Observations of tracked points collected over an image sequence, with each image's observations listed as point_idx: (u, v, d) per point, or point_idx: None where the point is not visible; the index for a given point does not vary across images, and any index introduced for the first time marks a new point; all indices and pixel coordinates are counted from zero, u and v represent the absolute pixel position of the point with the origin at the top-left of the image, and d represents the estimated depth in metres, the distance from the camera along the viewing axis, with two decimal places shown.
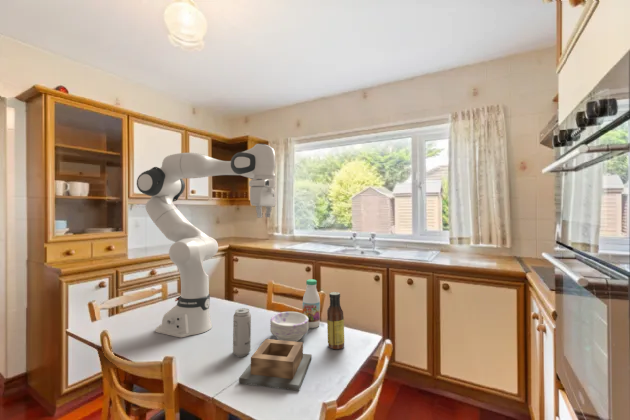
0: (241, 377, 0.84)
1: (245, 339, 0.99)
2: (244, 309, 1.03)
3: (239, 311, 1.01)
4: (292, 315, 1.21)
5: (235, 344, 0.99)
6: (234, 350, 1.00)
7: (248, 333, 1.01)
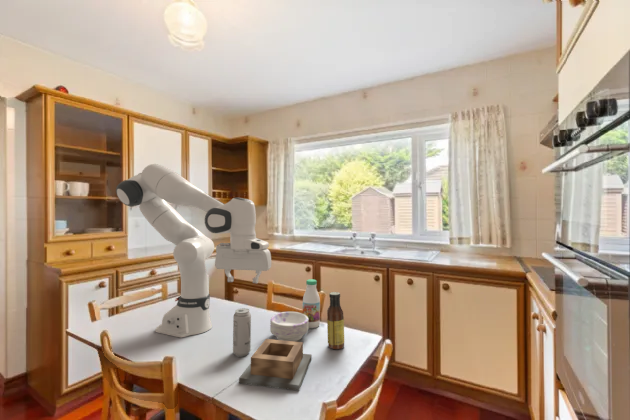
0: (241, 377, 0.84)
1: (245, 339, 0.99)
2: (244, 309, 1.03)
3: (239, 311, 1.01)
4: (292, 315, 1.21)
5: (235, 344, 0.99)
6: (234, 350, 1.00)
7: (248, 333, 1.01)
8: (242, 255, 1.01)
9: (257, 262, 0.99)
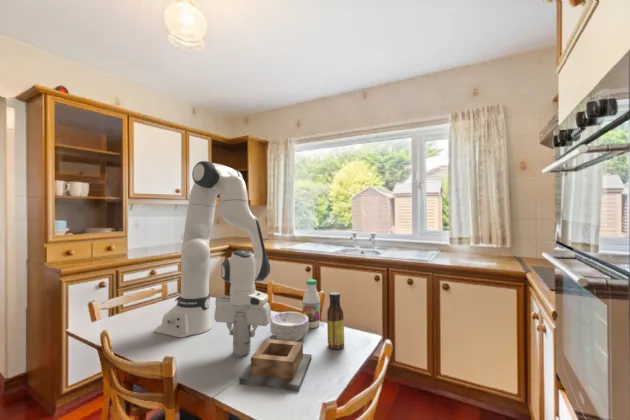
0: (241, 377, 0.84)
1: (245, 339, 0.99)
2: None
3: None
4: (292, 315, 1.21)
5: (235, 344, 0.99)
6: (234, 350, 1.00)
7: (248, 333, 1.00)
8: (241, 309, 1.01)
9: (257, 317, 0.99)
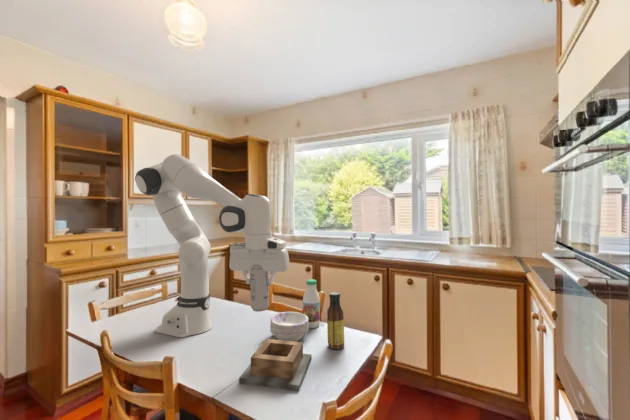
0: (241, 377, 0.84)
1: (263, 293, 0.93)
2: None
3: None
4: (292, 315, 1.21)
5: (253, 299, 0.93)
6: (252, 305, 0.94)
7: (266, 287, 0.94)
8: (258, 255, 0.94)
9: (275, 262, 0.93)
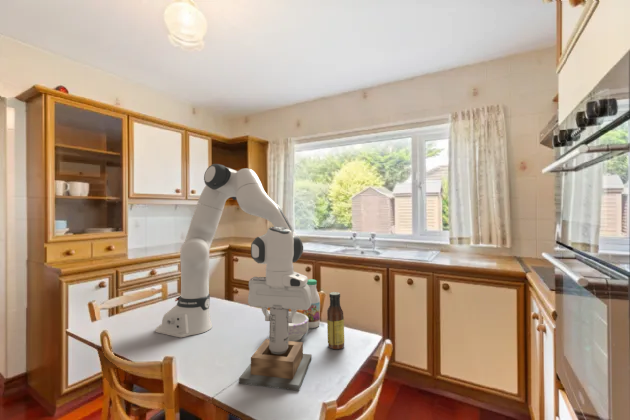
0: (241, 377, 0.84)
1: (284, 334, 0.89)
2: None
3: None
4: None
5: (273, 340, 0.89)
6: (271, 347, 0.89)
7: (287, 328, 0.90)
8: (279, 292, 0.90)
9: (297, 300, 0.89)
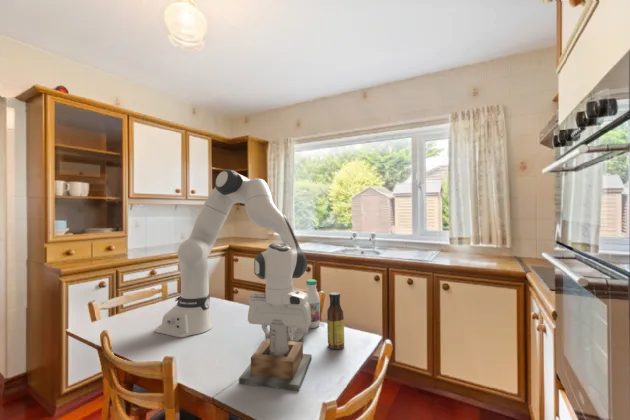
0: (241, 377, 0.84)
1: (284, 349, 0.89)
2: None
3: None
4: None
5: None
6: None
7: (287, 343, 0.90)
8: (279, 309, 0.90)
9: (296, 318, 0.88)
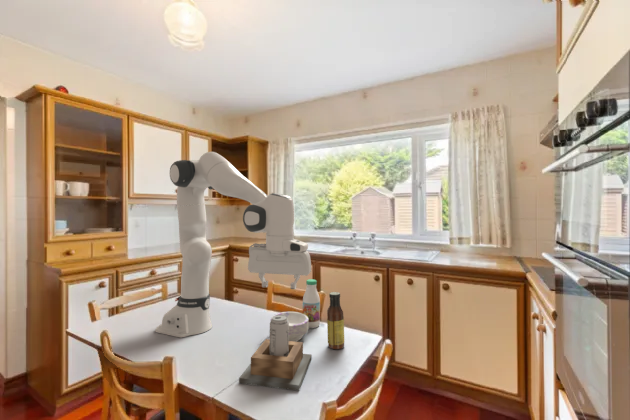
0: (241, 377, 0.84)
1: (284, 349, 0.89)
2: (280, 316, 0.93)
3: (276, 318, 0.91)
4: (292, 315, 1.21)
5: None
6: None
7: (287, 343, 0.90)
8: (279, 257, 0.90)
9: (297, 265, 0.89)
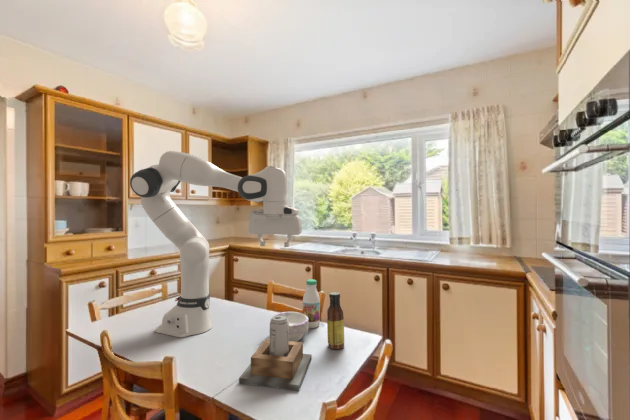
0: (241, 377, 0.84)
1: (284, 349, 0.89)
2: (280, 316, 0.93)
3: (276, 318, 0.91)
4: (292, 315, 1.21)
5: None
6: None
7: (287, 343, 0.90)
8: (274, 220, 1.07)
9: (289, 226, 1.06)
